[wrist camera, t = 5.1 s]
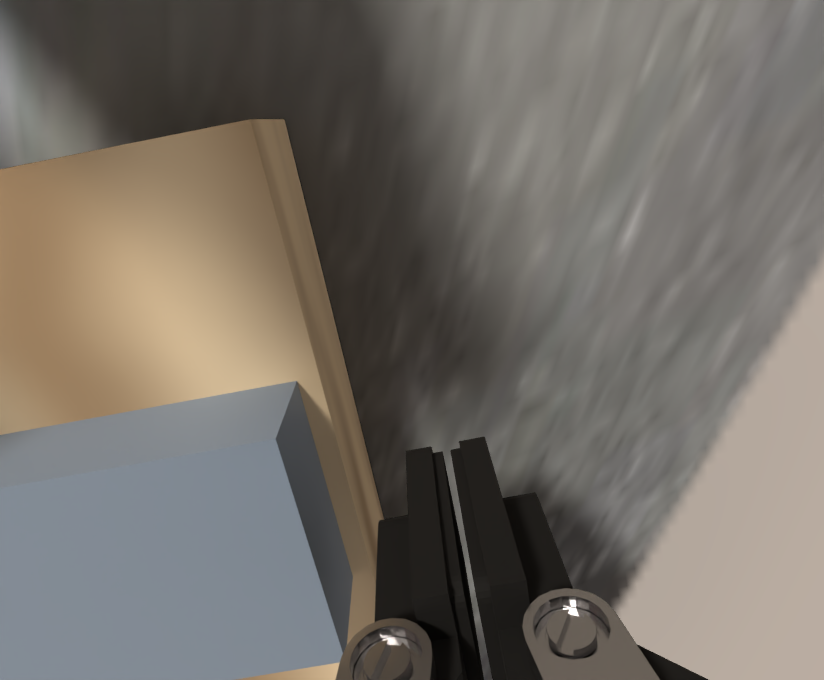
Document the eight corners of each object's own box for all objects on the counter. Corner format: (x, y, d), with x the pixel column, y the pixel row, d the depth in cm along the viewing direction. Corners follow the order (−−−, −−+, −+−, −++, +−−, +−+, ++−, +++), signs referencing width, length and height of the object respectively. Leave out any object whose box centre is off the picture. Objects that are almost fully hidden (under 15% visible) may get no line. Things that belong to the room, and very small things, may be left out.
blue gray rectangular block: (296, 380, 12) (275, 439, 10) (352, 576, 14) (345, 661, 12) (-58, 445, 13) (-155, 515, 10) (46, 628, 15) (-18, 720, 12)
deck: (284, 119, 14) (250, 119, 10) (407, 615, 19) (410, 715, 16) (-74, 190, 14) (-216, 212, 11) (151, 657, 20) (104, 764, 16)
